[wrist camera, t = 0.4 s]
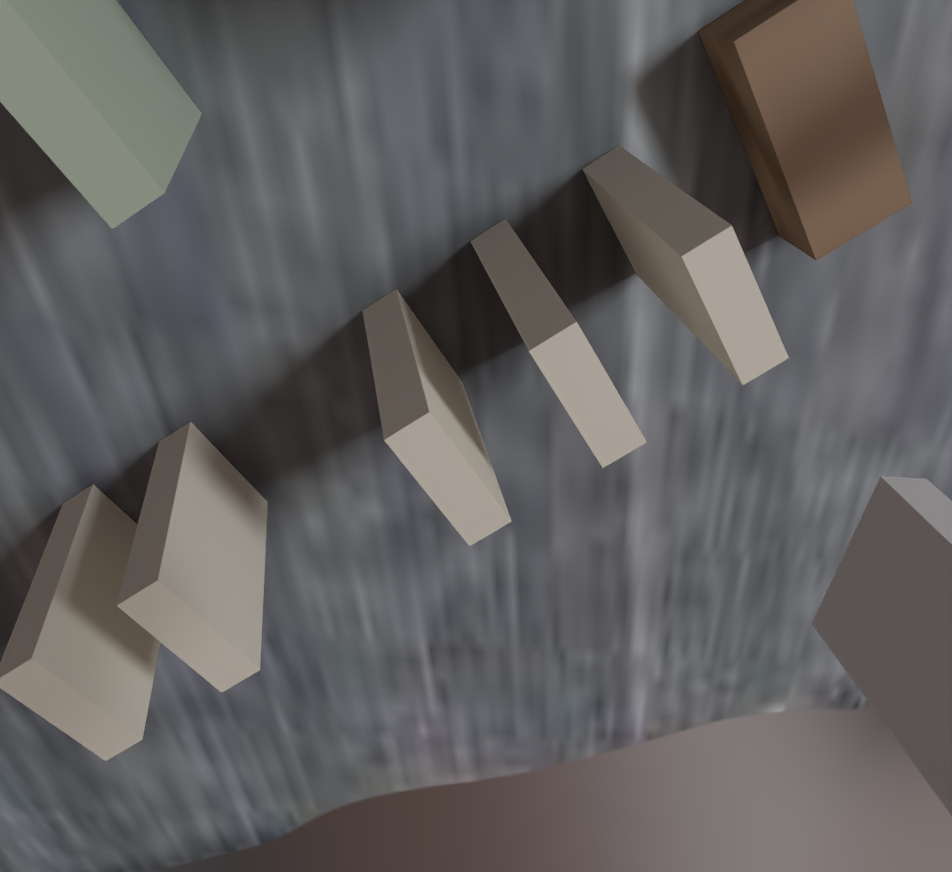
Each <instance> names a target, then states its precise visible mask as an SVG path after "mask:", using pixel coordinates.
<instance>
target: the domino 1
mask: <svg viewBox="0 0 952 872" xmlns="http://www.w3.org/2000/svg"><path fill="white" fill-rule="evenodd" d="M0 102H1V103H2V104H3V106H4V107H5V108H6V109H7V110H8V111H9V112H10V113H11V115H12V116H13V117H14V118H15V119H16V120H17V121H18V123H19V124H20V125H21V126H22V127H23V128H24V129H25V131H26V132H27V133H28V134H29V135H30V136H31V137H32V138H33V140H34V141H35V142H36V143H37V144H38V145H39V146H40V148H41V149H42V150H43V151H44V152H45V153H46V154H47V156H48V157H49V158H50V159H51V160H52V161H53V162H54V163H55V165H56V166H57V167H58V168H59V169H60V170H61V171H62V173H63V174H64V175H65V176H66V177H67V178H68V179H69V181H70V182H71V183H72V184H73V185H74V186H75V187H76V188H77V190H78V191H79V192H80V193H81V194H82V195H83V196H84V198H85V199H86V200H87V201H88V202H89V203H90V204H91V206H92V207H93V208H94V209H95V210H96V211H97V212H98V213H99V215H100V216H101V217H102V218H103V219H104V220H105V221H106V223H107V224H108V225H109V226H110V227H111V228H112V229H113V228H115V227H116V226H117V225H119V224H120V223H122V222H123V221H125V220H126V219H128V218H129V217H130V216H132V215H133V214H135V213H136V212H138V211H139V210H141V209H142V208H144V207H145V206H146V205H148V204H149V203H151V202H152V201H154V200H155V199H157V198H158V197H159V196H161V195H162V194H164V193H165V191H166V189H167V187H168V184H169V182H170V180H171V178H172V176H173V174H174V172H175V170H176V168H177V165H178V163H179V161H180V159H181V157H182V155H183V153H184V151H185V149H186V146H187V144H188V142H189V140H190V138H191V136H192V134H193V132H194V129H195V127H196V125H197V123H198V121H199V119H200V117H201V115H202V113H201V112H200V111H199V109H198V108H197V107H196V105H195V104H194V103H193V101H192V100H191V99H190V97H189V96H188V95H187V93H186V92H185V91H184V89H183V88H182V87H181V85H180V84H179V83H178V81H177V80H176V79H175V77H174V76H173V75H172V73H171V72H170V71H169V69H168V68H167V67H166V65H165V64H164V63H163V61H162V60H161V59H160V57H159V56H158V55H157V53H156V52H155V51H154V49H153V48H152V47H151V45H150V44H149V43H148V41H147V40H146V39H145V37H144V36H143V35H142V33H141V32H140V31H139V29H138V28H137V27H136V26H135V24H134V23H133V22H132V20H131V19H130V18H129V16H128V15H127V14H126V12H125V11H124V10H123V8H122V7H121V6H120V4H119V3H118V2H117V0H0Z"/></svg>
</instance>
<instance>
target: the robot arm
mask: <svg viewBox="0 0 952 872" xmlns="http://www.w3.org/2000/svg"><path fill="white" fill-rule="evenodd" d="M812 625H813V626H814V627H815V629H816V630H817V632H818V633H819V634H820V636H821V637H822V638H823V640H824V641H825V643H826V644H827V645H828V647H829V648H830V649H831V651H832V652H833V654H834V655H835V656H836V658H837V659H838V660H839V662H840V663H841V665H842V666H843V667H844V669H845V670H846V671H847V673H848V674H849V675H850V677H851V678H852V680H853V681H854V682H855V684H856V685H857V686H858V688H859V689H860V691H861V692H862V693H863V695H864V696H865V697H866V699H867V700H868V702H869V703H870V704H871V706H872V707H873V708H874V710H875V711H876V712H877V714H878V715H879V717H880V718H881V719H882V721H883V722H884V723H885V725H886V726H887V728H888V729H889V730H890V732H891V733H892V734H893V736H894V737H895V738H896V740H897V741H898V742H899V744H900V745H901V747H902V748H903V750H904V751H905V752H906V754H907V755H908V756H909V758H910V759H911V760H912V762H913V763H914V765H915V766H916V767H917V769H918V770H919V771H920V773H921V774H922V776H923V777H924V778H925V780H926V781H927V782H928V784H929V785H930V787H931V788H932V789H933V790H934V792H935V793H936V795H937V796H938V798H939V799H940V800H941V802H942V803H943V804H944V806H945V807H946V808H947V810H948V811H949V813H950V814H951V815H952V501H951V500H950V499H949V498H947V497H946V496H945V495H944V494H943V493H942V492H941V491H940V490H938V489H937V488H936V487H935V486H934V485H933V484H932V483H931V482H929V481H928V480H927V479H920V478H901V477H883V476H881V477H880V479H879V481H878V483H877V485H876V488H875V490H874V492H873V494H872V496H871V498H870V500H869V503H868V505H867V507H866V509H865V511H864V513H863V515H862V517H861V520H860V522H859V524H858V526H857V528H856V530H855V532H854V535H853V537H852V539H851V541H850V543H849V545H848V547H847V550H846V552H845V554H844V556H843V558H842V560H841V562H840V564H839V567H838V569H837V571H836V573H835V575H834V577H833V579H832V582H831V584H830V586H829V588H828V590H827V592H826V594H825V596H824V599H823V601H822V603H821V605H820V607H819V609H818V611H817V614H816V616H815V618H814V620H813V622H812Z"/></svg>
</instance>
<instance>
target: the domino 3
mask: <svg viewBox="0 0 952 872" xmlns="http://www.w3.org/2000/svg"><path fill="white" fill-rule="evenodd" d="M267 506H268V502H267V501H266V500H265V499H264V498H263V497H262V496H261V494H260V493H259V492H258V491H257V490H256V489H255V488H254V487H253V486H252V485H251V484H250V483H249V482H248V481H247V480H246V479H245V478H244V477H243V476H242V475H241V474H240V473H239V472H238V470H237V469H236V468H235V467H234V466H233V465H232V464H231V463H230V462H229V461H228V460H227V459H226V458H225V457H224V456H223V455H222V454H221V453H220V452H219V451H218V450H217V449H216V447H215V446H214V445H213V444H212V443H211V442H210V441H209V440H208V439H207V438H206V437H205V436H204V435H203V434H202V433H201V432H200V431H199V430H198V429H197V428H196V427H195V426H194V424H193V423H192V422H191V421H190V422H189V423H187V424H186V425H184V426H183V427H181V428H179V429H178V430H176V431H175V432H173V433H172V434H170V435H169V436H167V437H165V438H164V439H162V440H161V441H159V444H158V447H157V451H156V455H155V459H154V463H153V467H152V471H151V475H150V478H149V482H148V486H147V490H146V494H145V498H144V502H143V505H142V509H141V513H140V517H139V521H138V525H137V529H136V533H135V536H134V540H133V544H132V548H131V552H130V556H129V560H128V564H127V567H126V571H125V575H124V579H123V583H122V587H121V591H120V595H119V598H118V602H117V606H118V607H119V608H120V609H121V610H122V611H124V612H125V613H126V614H127V615H128V616H130V617H131V618H132V619H133V620H134V621H136V622H137V623H138V624H139V625H141V626H142V627H143V628H144V629H145V630H147V631H148V632H149V633H150V634H151V635H153V636H154V637H155V638H156V639H157V640H159V641H160V642H161V643H162V644H163V645H165V646H166V647H167V648H168V649H170V650H171V651H172V652H173V653H174V654H176V655H177V656H178V657H179V658H180V659H182V660H183V661H184V662H185V663H186V664H188V665H189V666H190V667H191V668H192V669H194V670H195V671H196V672H197V673H198V674H200V675H201V676H202V677H203V678H205V679H206V680H207V681H208V682H209V683H211V684H212V685H213V686H214V687H215V688H217V689H218V690H219V691H220V692H221V693H222V692H224V691H225V690H227V689H229V688H230V687H232V686H234V685H235V684H237V683H239V682H241V681H242V680H244V679H246V678H247V677H249V676H251V675H252V674H254V673H256V672H258V671H259V670H260V657H261V635H262V614H263V592H264V571H265V549H266V528H267Z"/></svg>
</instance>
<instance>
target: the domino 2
mask: <svg viewBox="0 0 952 872" xmlns="http://www.w3.org/2000/svg"><path fill="white" fill-rule="evenodd" d="M137 525H138V524H136V523H135V522H134V521H133V520H132V519H131V518H130V517H129V516H128V515H127V514H126V513H124V512H123V511H122V510H121V509H120V508H119V507H118V506H117V505H116V504H115V503H113V502H112V501H111V500H110V499H109V498H108V497H107V496H106V495H105V494H104V493H102V492H101V491H100V490H99V489H98V488H97V487H96V486H95V485H94V484H93V485H91V486H89V487H88V488H86V489H85V490H83V491H82V492H80V493H79V494H77V495H75V496H74V497H72V498H71V499H69V500H68V501H66V502H65V503H63V504H62V507H61V509H60V512H59V515H58V517H57V520H56V522H55V525H54V527H53V530H52V532H51V535H50V537H49V540H48V543H47V545H46V548H45V550H44V553H43V555H42V558H41V560H40V563H39V565H38V568H37V570H36V573H35V576H34V578H33V581H32V583H31V586H30V588H29V591H28V593H27V596H26V598H25V601H24V604H23V606H22V609H21V611H20V614H19V616H18V619H17V621H16V624H15V626H14V629H13V632H12V634H11V637H10V639H9V642H8V644H7V647H6V649H5V652H4V654H3V657H2V660H1V662H0V688H1V689H2V690H4V691H5V692H7V693H8V694H10V695H11V696H12V697H14V698H15V699H17V700H18V701H20V702H21V703H23V704H24V705H25V706H27V707H28V708H30V709H31V710H33V711H34V712H36V713H37V714H38V715H40V716H41V717H43V718H44V719H46V720H47V721H49V722H50V723H51V724H53V725H54V726H56V727H57V728H59V729H60V730H62V731H63V732H64V733H66V734H67V735H69V736H70V737H72V738H73V739H75V740H76V741H77V742H79V743H80V744H82V745H83V746H85V747H86V748H88V749H89V750H90V751H92V752H93V753H95V754H96V755H98V756H99V757H101V758H102V759H103V760H105V761H107V760H108V759H110V758H112V757H114V756H115V755H117V754H119V753H120V752H122V751H124V750H125V749H127V748H129V747H130V746H132V745H134V744H136V743H137V742H139V741H141V740H142V739H143V733H144V728H145V722H146V717H147V712H148V706H149V701H150V695H151V690H152V684H153V679H154V674H155V668H156V663H157V657H158V652H159V646H160V641H159V640H157V639H156V638H155V637H154V636H153V635H151V634H150V633H149V632H148V631H147V630H145V629H144V628H143V627H142V626H141V625H139V624H138V623H137V622H136V621H134V620H133V619H132V618H131V617H130V616H128V615H127V614H126V613H125V612H124V611H122V610H121V609H120V608H119V607H118V606H117V602H118V598H119V595H120V591H121V587H122V583H123V579H124V575H125V571H126V567H127V564H128V560H129V556H130V552H131V548H132V544H133V540H134V536H135V533H136V529H137Z"/></svg>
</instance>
